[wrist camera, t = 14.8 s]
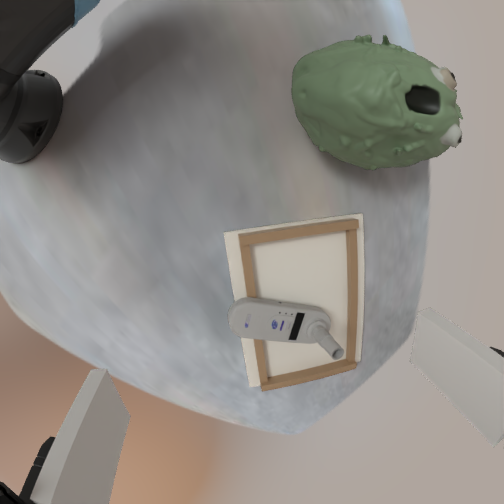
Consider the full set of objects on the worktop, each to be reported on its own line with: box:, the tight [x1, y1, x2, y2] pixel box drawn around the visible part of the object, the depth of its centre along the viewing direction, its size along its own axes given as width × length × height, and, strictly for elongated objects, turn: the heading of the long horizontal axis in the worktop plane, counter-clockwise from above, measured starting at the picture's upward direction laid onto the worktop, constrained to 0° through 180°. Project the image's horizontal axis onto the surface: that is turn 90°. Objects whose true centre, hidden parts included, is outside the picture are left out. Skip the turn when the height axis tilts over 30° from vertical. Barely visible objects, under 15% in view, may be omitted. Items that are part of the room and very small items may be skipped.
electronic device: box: [228, 297, 344, 360], centre depth 35 cm, size 5×10×15 cm
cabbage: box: [292, 35, 463, 170], centre depth 26 cm, size 16×19×20 cm
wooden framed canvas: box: [224, 213, 364, 391], centre depth 40 cm, size 26×20×3 cm
